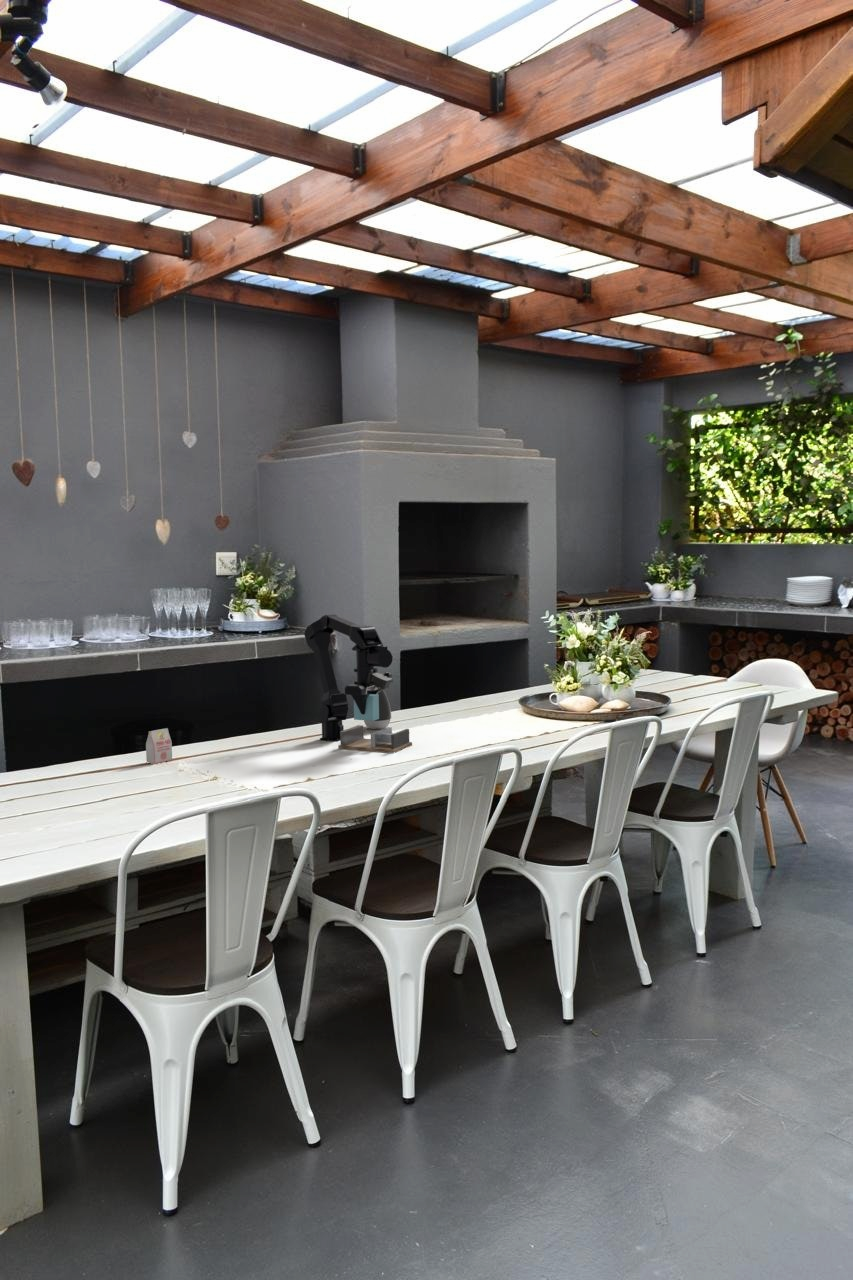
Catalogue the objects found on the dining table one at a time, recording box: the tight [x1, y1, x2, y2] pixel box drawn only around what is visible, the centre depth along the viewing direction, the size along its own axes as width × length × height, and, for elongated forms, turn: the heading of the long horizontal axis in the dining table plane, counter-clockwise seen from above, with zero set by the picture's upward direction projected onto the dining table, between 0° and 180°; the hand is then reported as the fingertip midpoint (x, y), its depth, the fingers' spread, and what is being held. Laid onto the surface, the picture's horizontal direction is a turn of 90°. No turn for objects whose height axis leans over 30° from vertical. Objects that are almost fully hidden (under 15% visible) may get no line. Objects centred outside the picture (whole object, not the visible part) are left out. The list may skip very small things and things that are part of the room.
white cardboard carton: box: [145, 727, 173, 765], centre depth 309 cm, size 4×7×10 cm, turn 142°
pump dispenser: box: [363, 687, 392, 730], centre depth 360 cm, size 10×10×15 cm
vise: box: [338, 724, 413, 753], centre depth 327 cm, size 20×13×6 cm, turn 65°
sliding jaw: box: [370, 726, 410, 749], centre depth 324 cm, size 8×12×4 cm, turn 155°
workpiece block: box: [353, 694, 379, 721], centre depth 327 cm, size 7×4×8 cm, turn 65°
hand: (366, 713), depth 327 cm, fingers closed on workpiece block, 4 cm apart
